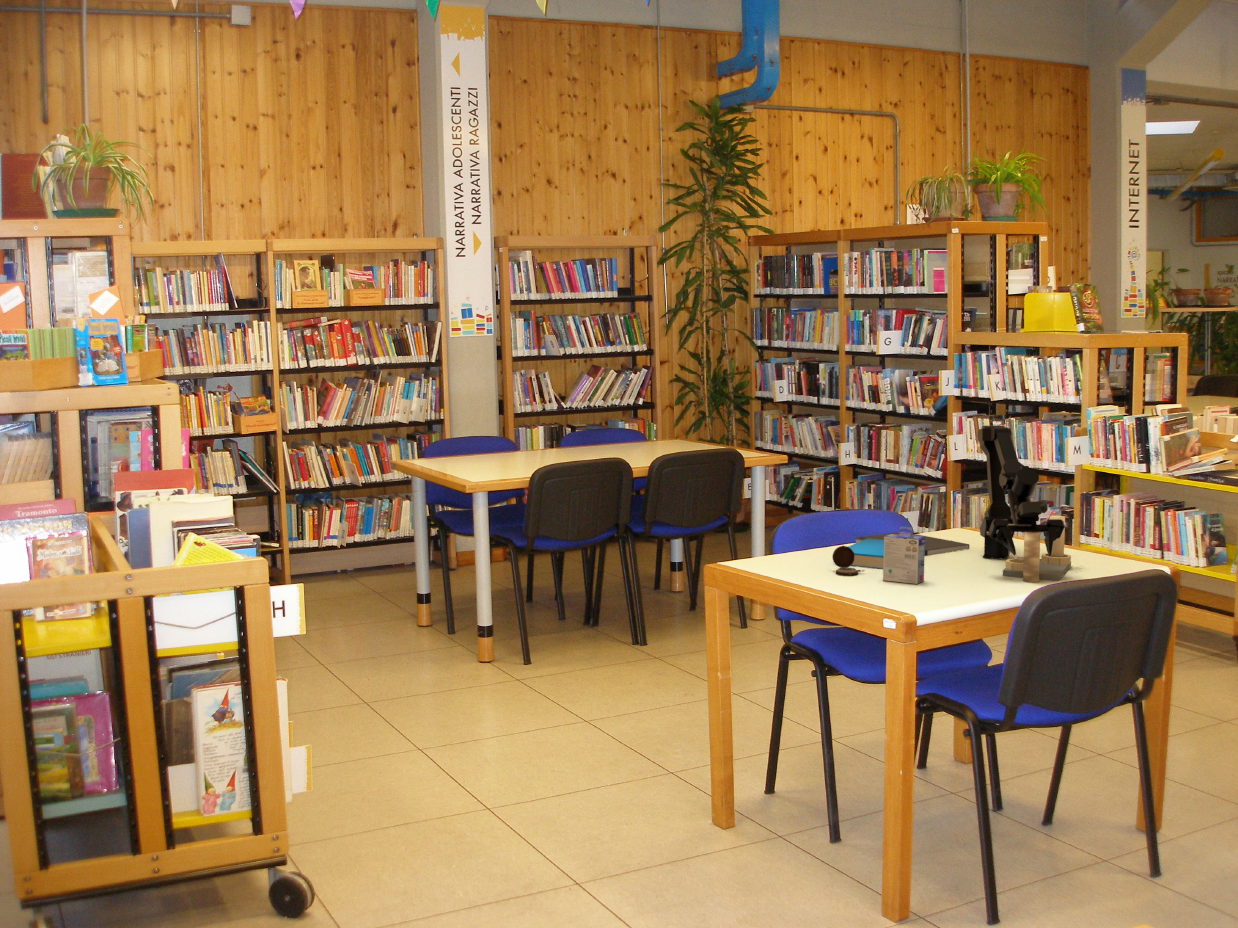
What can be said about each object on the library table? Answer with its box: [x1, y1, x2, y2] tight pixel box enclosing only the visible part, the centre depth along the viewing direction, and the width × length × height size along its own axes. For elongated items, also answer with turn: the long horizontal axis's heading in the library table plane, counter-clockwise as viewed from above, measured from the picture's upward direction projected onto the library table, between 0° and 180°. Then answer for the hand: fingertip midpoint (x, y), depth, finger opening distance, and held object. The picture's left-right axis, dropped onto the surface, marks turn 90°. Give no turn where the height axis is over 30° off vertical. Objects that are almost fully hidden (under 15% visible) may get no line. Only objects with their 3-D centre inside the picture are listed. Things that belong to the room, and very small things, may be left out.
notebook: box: [854, 531, 970, 557], centre depth 365 cm, size 22×2×28 cm
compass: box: [832, 545, 865, 577], centre depth 324 cm, size 8×8×7 cm
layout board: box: [1002, 515, 1072, 582], centre depth 325 cm, size 15×22×14 cm
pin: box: [1022, 532, 1041, 583], centre depth 312 cm, size 4×4×13 cm
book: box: [847, 539, 884, 570], centre depth 343 cm, size 17×4×25 cm
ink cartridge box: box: [882, 525, 925, 585], centre depth 313 cm, size 10×6×14 cm, turn 58°
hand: (1032, 554), depth 311 cm, fingers open, 9 cm apart
